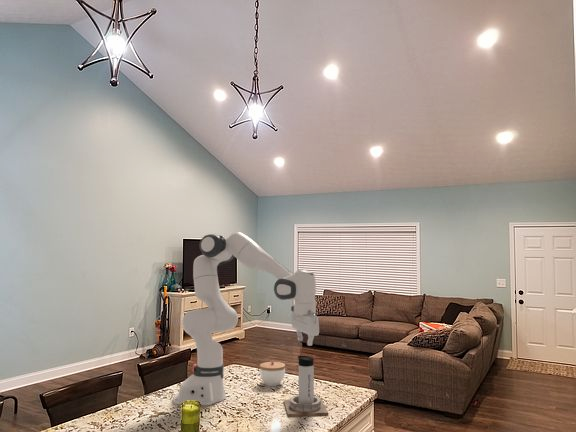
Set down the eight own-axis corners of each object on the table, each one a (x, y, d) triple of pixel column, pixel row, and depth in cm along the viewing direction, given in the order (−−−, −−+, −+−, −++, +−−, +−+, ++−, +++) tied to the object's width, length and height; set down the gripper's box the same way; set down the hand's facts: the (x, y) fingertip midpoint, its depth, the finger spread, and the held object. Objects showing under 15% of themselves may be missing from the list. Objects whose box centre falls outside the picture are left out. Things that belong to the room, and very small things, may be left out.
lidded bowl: (256, 381, 212) (257, 358, 213) (281, 379, 216) (281, 356, 217) (263, 389, 200) (263, 364, 201) (288, 386, 204) (288, 362, 205)
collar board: (287, 416, 166) (287, 407, 166) (283, 402, 182) (283, 394, 182) (328, 415, 167) (328, 405, 168) (320, 401, 183) (320, 392, 184)
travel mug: (299, 403, 178) (299, 354, 180) (315, 404, 176) (315, 355, 178) (295, 408, 172) (295, 357, 174) (311, 410, 170) (311, 358, 172)
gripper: (323, 312, 170) (323, 347, 169) (302, 305, 189) (301, 337, 187) (308, 313, 167) (308, 349, 166) (289, 306, 186) (288, 338, 185)
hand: (304, 342), depth 177 cm, fingers open, 8 cm apart
